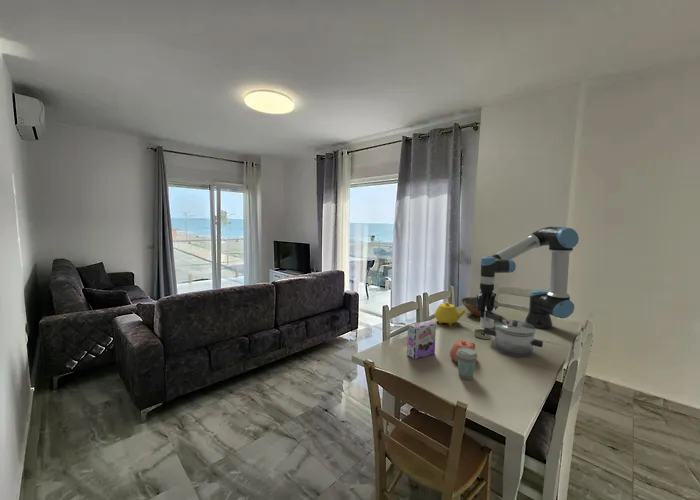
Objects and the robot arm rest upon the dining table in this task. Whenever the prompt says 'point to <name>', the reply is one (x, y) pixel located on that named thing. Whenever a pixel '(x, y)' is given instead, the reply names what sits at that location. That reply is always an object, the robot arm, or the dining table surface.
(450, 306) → the teapot
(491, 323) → the mug
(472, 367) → the coffee cup
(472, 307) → the bowl
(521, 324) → the lid
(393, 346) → the dining table surface
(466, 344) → the sugar bowl
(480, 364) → the dining table surface
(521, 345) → the pot
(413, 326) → the candy box
